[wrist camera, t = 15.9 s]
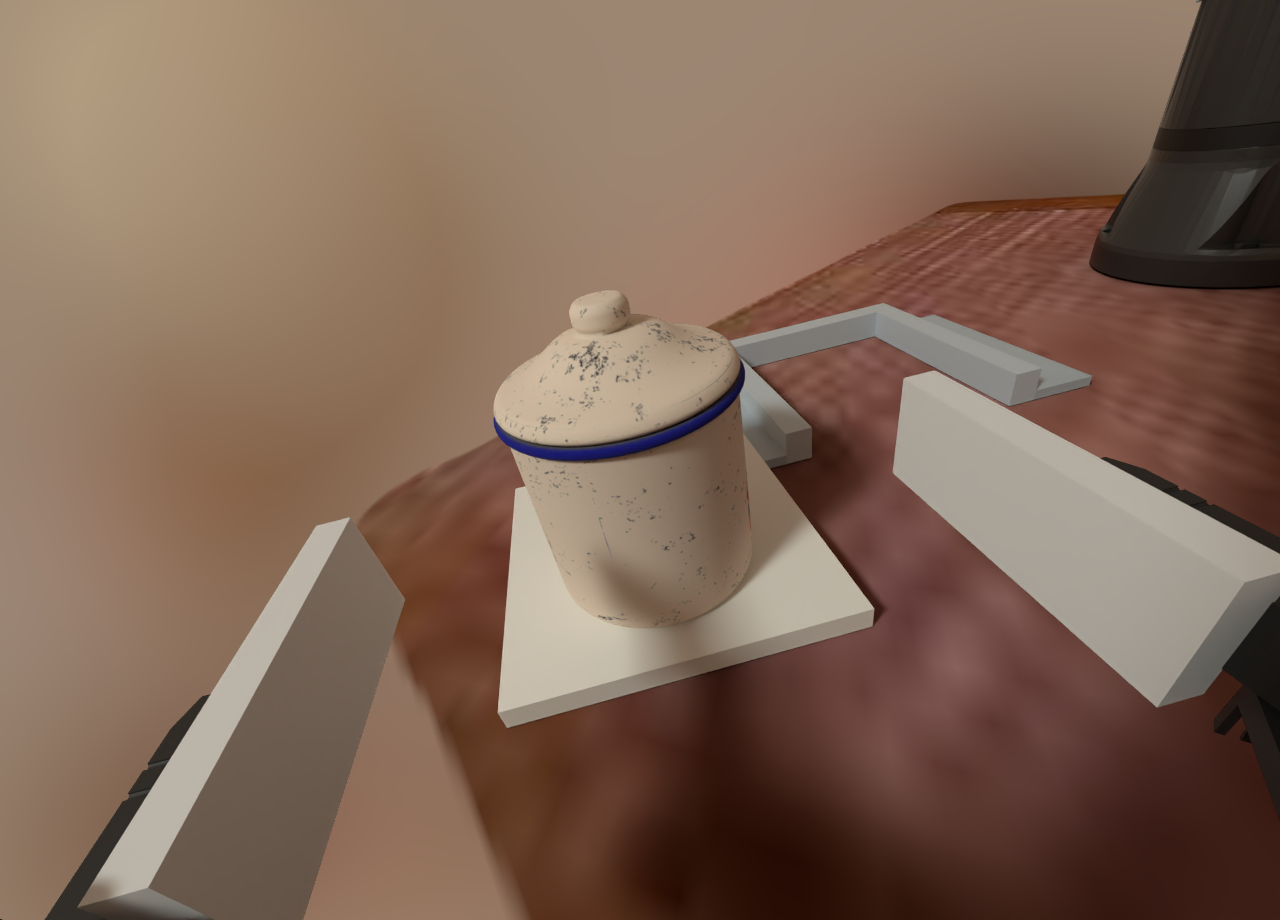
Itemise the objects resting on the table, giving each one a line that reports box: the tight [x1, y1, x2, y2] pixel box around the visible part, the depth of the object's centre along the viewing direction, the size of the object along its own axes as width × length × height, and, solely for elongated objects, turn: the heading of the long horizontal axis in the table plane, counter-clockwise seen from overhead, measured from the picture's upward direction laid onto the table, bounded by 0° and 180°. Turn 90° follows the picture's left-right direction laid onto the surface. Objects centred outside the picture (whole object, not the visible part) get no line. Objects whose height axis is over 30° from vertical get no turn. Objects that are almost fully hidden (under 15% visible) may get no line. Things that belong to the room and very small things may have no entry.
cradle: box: [730, 303, 1092, 468], centre depth 34 cm, size 22×15×2 cm
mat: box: [498, 433, 874, 728], centre depth 24 cm, size 14×14×1 cm
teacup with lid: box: [493, 290, 753, 628], centre depth 20 cm, size 12×9×12 cm
